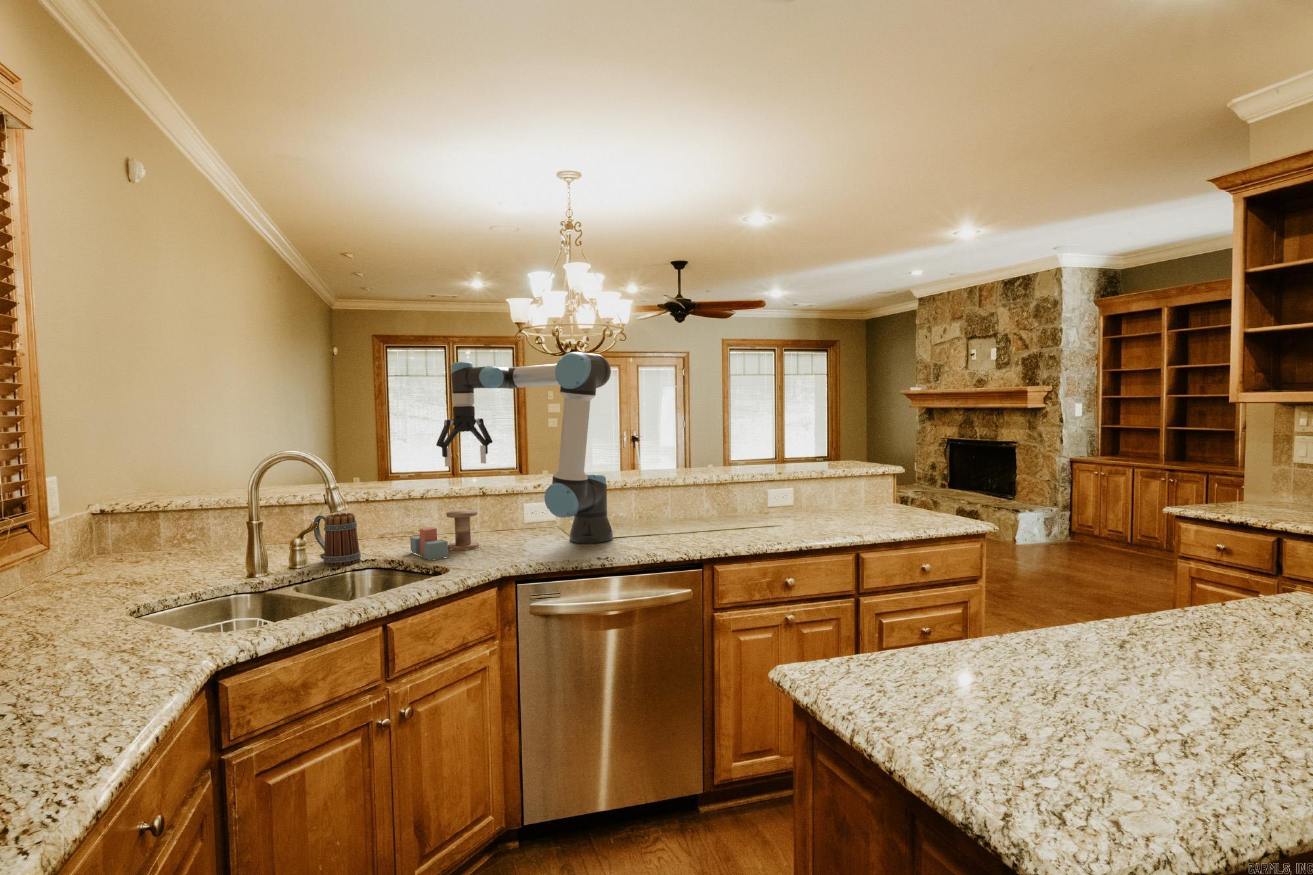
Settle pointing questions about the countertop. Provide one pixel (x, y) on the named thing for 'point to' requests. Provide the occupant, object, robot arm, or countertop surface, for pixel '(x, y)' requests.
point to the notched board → (430, 548)
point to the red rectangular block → (427, 536)
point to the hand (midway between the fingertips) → (465, 464)
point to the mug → (338, 539)
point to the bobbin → (462, 530)
